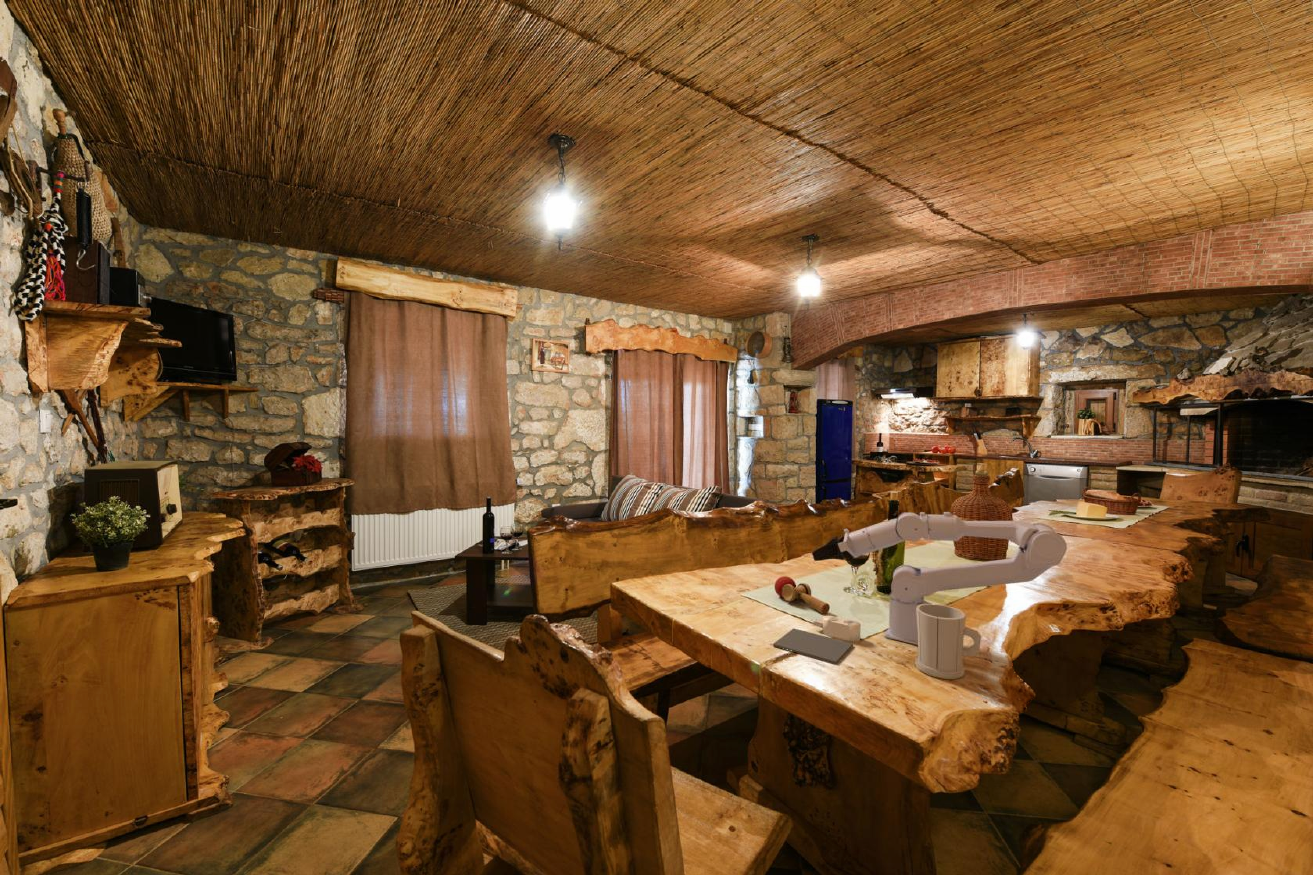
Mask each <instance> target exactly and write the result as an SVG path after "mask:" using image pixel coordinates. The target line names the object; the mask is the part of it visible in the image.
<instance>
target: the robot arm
mask: <svg viewBox="0 0 1313 875" xmlns="http://www.w3.org/2000/svg"><path fill="white" fill-rule="evenodd" d="M843 532H844V535H843V536H842V537H840V539H839V536H837V535H836V536H833V537H832V538H831V539H830V540H829V541H828V542H827V543H826V544H824V545H822V546H820V547H819V548H817V549H815V550H814V551H812V552H811V555H812V558H813V560H814V562H818V561H827V560H828V561H829V560H840V561H845V560H846V559H856V558H859V557H860V556H863V555H868V554H870V553H873V552H877V551H878V550H883V549H886V548H889V547H892V546H895V545H896V544H899V543H902V542H903V543H904V542H905V541H908V542H912V543H916V542H919V541H920V540H921V539H924V540H928V541H947V542H949V541H950V542H958V541H959V540H961V539H962V538H963V537H964V536H966V537H974V538H976V537H977V538H978V537H979V538H987V539H988V538H990V539H991V538H992V539H1002V540H1007V541H1010V542H1011V543H1013V544H1015V545H1016V546H1018V548H1017V549H1016V551H1015V552H1014V554H1013V556H1012V557H1011V558H1005V559H997V560H990V561H982V562H974V563H965V564H964V563H963V564H958V565H957V564H956V565H949V566H947V565H946V566H941V567H928V566H919V567H918V566H914V565H913V566H912V565H908V564H903V565H900V566H897V567H896V568H895V569H894V571H893V574H892V582H891V585H890V589H891V592H890V593H889V605H888V606H889V608H888V609H889V614H888V615H889V617H888V628H887V630H886V631H885V632H884V634H883V637H884V638H888V639H892V640H896V641H901V642H903V643H904V642H905V643H909V644H912V645H917V646H918V628H917V613H916V607H917V606H918V605H921V604H934V603H932V602H929V601H926V600H925V597H930V596H932V595H934V594H935V593H937V592H941V591H950V590H951V591H952V590H961V589H972V588H979V587H982V588H983V587H990V586H1001V585H1009V584H1011V585H1012V584H1020V583H1028V582H1033V581H1034V580H1035V579H1036V578H1038V577H1040V576H1041V575H1042V574H1044V573H1045V572H1046V571H1048V570H1049V569H1051V568H1053V567H1055V566H1058V565H1060V563H1061V562H1062V560H1063V559H1064V556H1065V555H1066V554H1067V549H1068V547H1067V542H1066V540H1065V539H1064V537H1063V536H1062V535H1061V534H1060V533H1058V532H1056V531H1055V530H1054V529H1053V527H1052V526H1050V525H1048V524H1045V523H1043V522H1035V523H1032V522H1030V521H1025V520H1023V521H1022V520H991V521H990V520H963V519H961V518H960V517H959V516H958V515H957V514H951V512H949V511H944V512H943V514H926V512H925V511H924V512H923V511H921V512H919V514H916V513H915V512H902V513H901V514H899V516H898V517H896V518H892V519H890V520H887V521H886V520H885V521H882V522H878V523H876V524H872V525H869V526H867V527H864V528H860V529H858V530H854V531H851V532H850V530H849V529H848V528H845V529H843Z"/></svg>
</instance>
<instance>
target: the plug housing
mask: <svg viewBox="0 0 1313 875" xmlns="http://www.w3.org/2000/svg"><path fill="white" fill-rule="evenodd" d="M812 626H814V627H819V628H822V634H823V636H826V637H829V638H833V639H837V640H841V641H845V642H849V643H859V642H860V641H861V623H860V622H858V621H856V620H851V619H849V618H848V619H847V618H843V617H839V616H834V615H824V616H822V619H818V618H815V619H814V620H813V625H812Z"/></svg>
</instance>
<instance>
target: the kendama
mask: <svg viewBox="0 0 1313 875" xmlns="http://www.w3.org/2000/svg"><path fill="white" fill-rule="evenodd" d="M774 591H775V593H776V595H778V596H779V597H780V598H782V599H784V600H785V601H786V602H787V601H788V602H792V601H794V600H795V599H797V598H798V599H799V600H800V601H802V602H805V603H806V604H808V605H809V606H811V607H812V608H814V609H815V610H817V612H819V613H821V614H822V615H826V614H828V613H829V611H830V608H831V607H830V604H829V603H828V602H826V601H823V600H820V599H818V598H816V597H814V596H812V588H811V587H810V585H809V584H807V583H805V582H804V583H803V582H802V583H801V582H800V583H798V584H797V585H796V582H795V580H794V579H793V578H792V577H790V576H787V575H785V576H781V577H778V578H777V579H776V581H775V583H774Z"/></svg>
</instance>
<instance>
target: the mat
mask: <svg viewBox="0 0 1313 875" xmlns="http://www.w3.org/2000/svg"><path fill="white" fill-rule="evenodd" d="M772 646H775V647H774V648H777V647H778V649H780V648H784V649H788V650H792V651H793V652H792V653H794V652H797V653H796V654H798V653H799V654H798V655H802V656H805V655H806V656H805V657H809V658H812V659H816V660H819V661H822V662H827V663H828V664H829V663H830V664H833V665H837V664H838V663H839V662H840V661H841V660H842V658H844V657H845V655H846V654H847V653H848V652H849V651H850V650H851V649H853V647H854V642H850V641H846V640H842V639H838V638H834V637H830V636H826V635H821V634H817V633H813V632H810V631H806V630H802V629H797V628H795V627H793V628H792V629H790V630H789V631H788V632H786V634H784V635H783V636H781V637H780V638H779V639H778V640H776V641H775V642H774V643H773V644H772ZM784 649H783V650H784Z"/></svg>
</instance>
